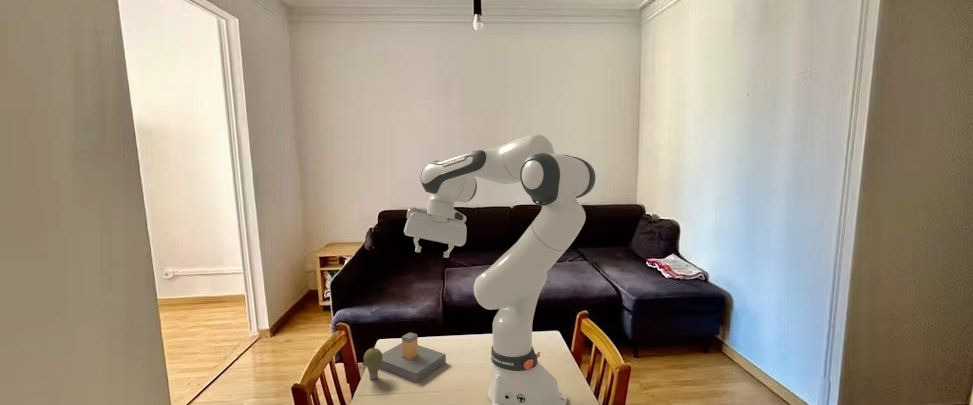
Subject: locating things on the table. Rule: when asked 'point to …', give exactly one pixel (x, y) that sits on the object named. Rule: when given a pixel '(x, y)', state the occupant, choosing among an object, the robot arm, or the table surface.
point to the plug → (410, 346)
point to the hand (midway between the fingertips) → (431, 254)
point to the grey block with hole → (412, 363)
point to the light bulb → (373, 361)
